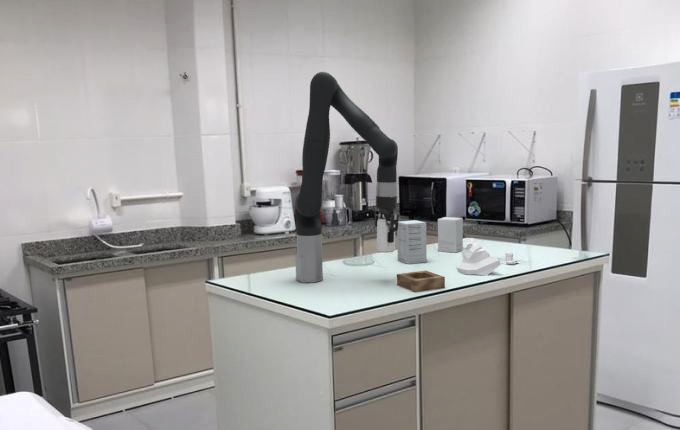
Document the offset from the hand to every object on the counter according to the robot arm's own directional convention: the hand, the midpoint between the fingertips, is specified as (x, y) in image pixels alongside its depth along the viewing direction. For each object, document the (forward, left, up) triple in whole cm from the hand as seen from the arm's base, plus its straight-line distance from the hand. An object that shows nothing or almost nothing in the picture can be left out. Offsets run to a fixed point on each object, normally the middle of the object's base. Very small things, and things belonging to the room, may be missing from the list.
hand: (385, 240), depth 213 cm
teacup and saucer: (+56, +3, -15) cm, 58 cm away
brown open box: (+6, -13, -15) cm, 21 cm away
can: (0, 0, -4) cm, 4 cm away
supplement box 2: (+54, +37, -15) cm, 68 cm away
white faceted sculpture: (+36, -5, -15) cm, 40 cm away
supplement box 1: (+26, +25, -15) cm, 39 cm away
